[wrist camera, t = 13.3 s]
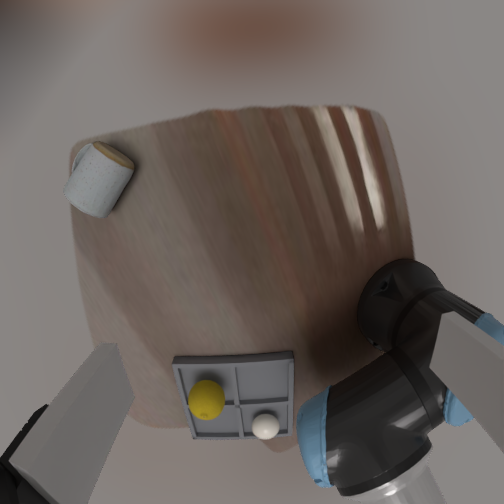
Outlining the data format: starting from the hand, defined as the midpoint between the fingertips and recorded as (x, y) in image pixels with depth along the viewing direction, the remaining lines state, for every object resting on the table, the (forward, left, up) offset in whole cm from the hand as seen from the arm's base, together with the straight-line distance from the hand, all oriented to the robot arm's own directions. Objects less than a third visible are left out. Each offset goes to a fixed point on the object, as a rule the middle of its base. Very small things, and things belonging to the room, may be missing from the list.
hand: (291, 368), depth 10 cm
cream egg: (+1, +31, -28) cm, 42 cm away
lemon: (+9, +23, -28) cm, 37 cm away
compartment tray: (+5, +27, -29) cm, 40 cm away
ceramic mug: (+21, -11, -29) cm, 38 cm away
